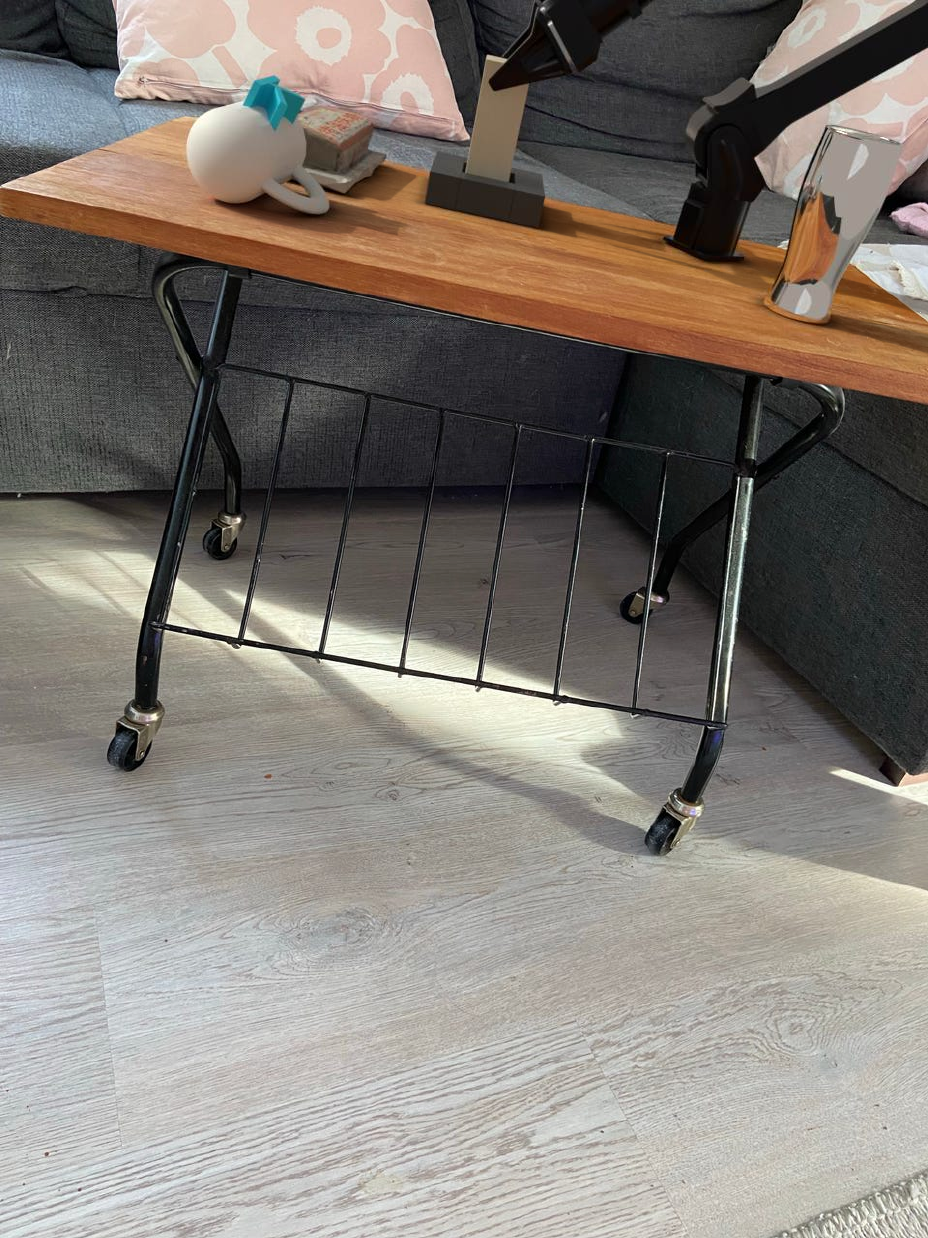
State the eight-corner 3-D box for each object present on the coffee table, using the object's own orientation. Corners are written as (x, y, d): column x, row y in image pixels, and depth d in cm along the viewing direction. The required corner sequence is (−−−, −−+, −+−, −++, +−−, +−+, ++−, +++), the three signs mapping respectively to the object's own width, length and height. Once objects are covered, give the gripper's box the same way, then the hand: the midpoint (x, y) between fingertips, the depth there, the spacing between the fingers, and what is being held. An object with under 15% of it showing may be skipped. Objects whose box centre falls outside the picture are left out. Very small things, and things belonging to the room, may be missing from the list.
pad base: (535, 203, 107) (542, 173, 105) (538, 228, 97) (545, 196, 96) (432, 180, 106) (437, 150, 104) (424, 203, 96) (430, 171, 95)
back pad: (502, 203, 103) (531, 64, 96) (502, 212, 100) (532, 69, 93) (461, 194, 103) (487, 54, 96) (459, 203, 99) (486, 58, 92)
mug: (207, 66, 75) (261, 57, 85) (159, 171, 80) (216, 151, 90) (336, 166, 77) (374, 145, 87) (282, 262, 82) (324, 232, 92)
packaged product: (301, 95, 105) (392, 117, 105) (297, 144, 107) (385, 165, 107) (247, 114, 90) (352, 140, 90) (243, 171, 92) (345, 196, 92)
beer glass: (744, 301, 90) (808, 121, 81) (781, 295, 94) (846, 125, 86) (811, 329, 86) (885, 144, 78) (846, 322, 91) (920, 147, 82)
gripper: (584, -113, 94) (449, -6, 99) (599, -125, 79) (438, 3, 84) (639, 2, 99) (508, 98, 104) (663, 12, 84) (508, 124, 89)
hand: (491, 80), depth 95 cm, fingers open, 9 cm apart
